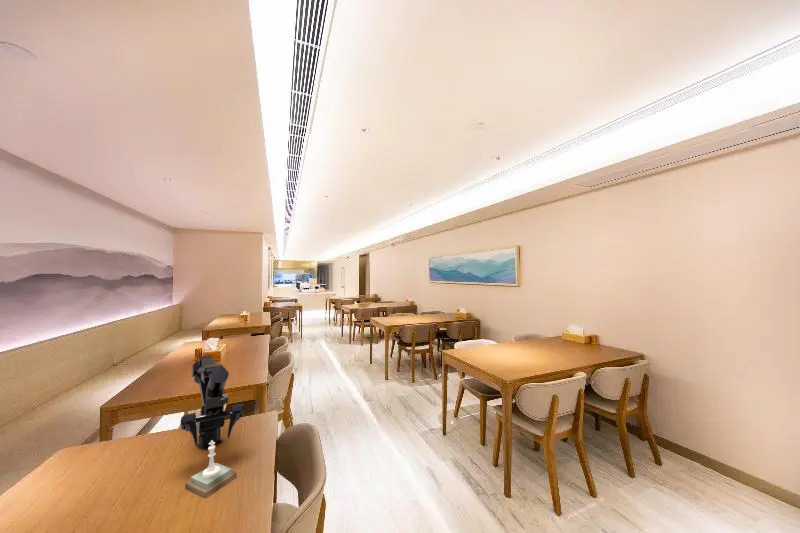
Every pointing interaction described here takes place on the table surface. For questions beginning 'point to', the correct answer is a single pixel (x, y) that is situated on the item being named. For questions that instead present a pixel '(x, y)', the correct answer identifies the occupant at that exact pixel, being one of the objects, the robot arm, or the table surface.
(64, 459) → the table surface
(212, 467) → the chess piece
